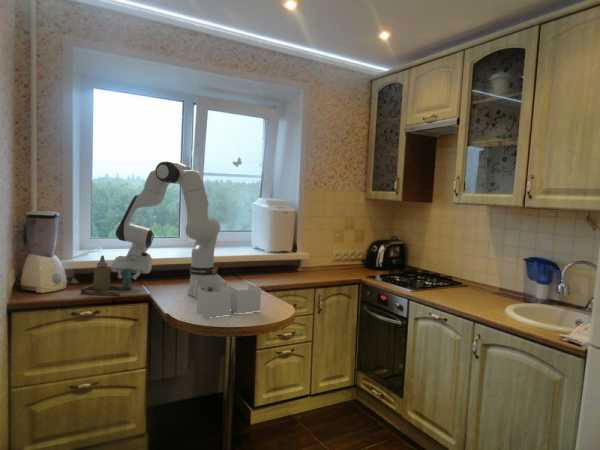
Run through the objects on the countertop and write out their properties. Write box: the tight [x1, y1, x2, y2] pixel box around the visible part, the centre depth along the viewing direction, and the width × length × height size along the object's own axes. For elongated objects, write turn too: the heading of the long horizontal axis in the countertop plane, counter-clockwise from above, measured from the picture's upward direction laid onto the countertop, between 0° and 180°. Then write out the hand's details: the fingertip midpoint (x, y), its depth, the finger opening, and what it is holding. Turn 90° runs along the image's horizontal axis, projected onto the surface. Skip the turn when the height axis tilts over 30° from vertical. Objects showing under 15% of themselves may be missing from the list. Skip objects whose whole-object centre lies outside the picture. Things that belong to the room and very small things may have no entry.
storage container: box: [196, 283, 262, 319], centre depth 173 cm, size 25×11×11 cm, turn 122°
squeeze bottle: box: [92, 255, 112, 291], centre depth 199 cm, size 8×8×18 cm
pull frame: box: [80, 269, 133, 297], centre depth 200 cm, size 18×15×10 cm
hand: (126, 278), depth 205 cm, fingers open, 6 cm apart
